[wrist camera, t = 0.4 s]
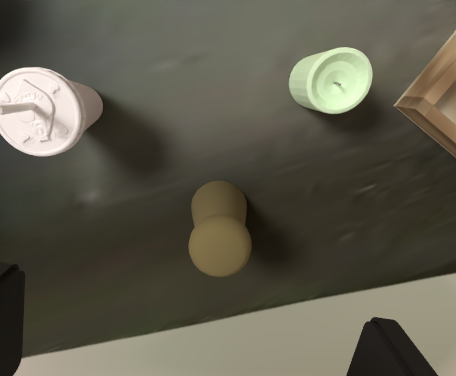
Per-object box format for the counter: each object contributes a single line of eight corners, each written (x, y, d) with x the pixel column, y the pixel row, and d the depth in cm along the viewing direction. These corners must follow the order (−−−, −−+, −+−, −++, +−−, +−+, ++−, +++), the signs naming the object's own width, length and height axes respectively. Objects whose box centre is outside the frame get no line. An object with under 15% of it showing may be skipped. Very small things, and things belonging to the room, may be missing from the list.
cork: (255, 192, 38) (271, 235, 27) (234, 240, 39) (241, 298, 29) (203, 172, 37) (198, 208, 27) (182, 222, 39) (170, 274, 28)
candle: (327, 115, 36) (358, 124, 28) (281, 98, 35) (299, 103, 27) (347, 65, 34) (386, 60, 27) (300, 47, 34) (325, 37, 26)
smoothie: (106, 64, 34) (34, 53, 20) (124, 131, 36) (69, 160, 22) (40, 78, 34) (-74, 75, 20) (62, 143, 36) (-30, 180, 22)
